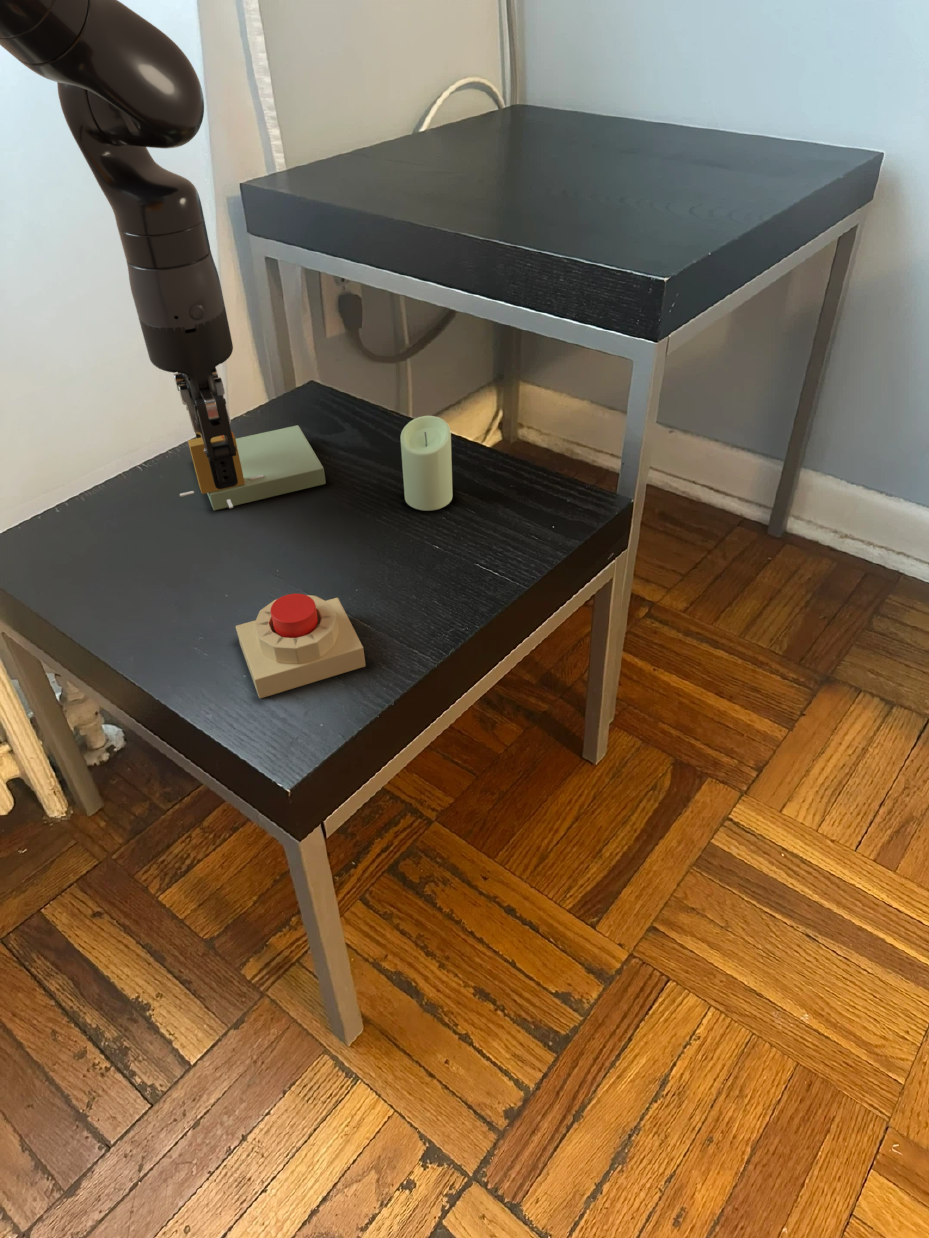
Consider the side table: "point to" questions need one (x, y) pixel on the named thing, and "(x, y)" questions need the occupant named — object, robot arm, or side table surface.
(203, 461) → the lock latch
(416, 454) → the candle
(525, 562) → the side table surface
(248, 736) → the side table surface
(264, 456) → the plate
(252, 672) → the button box
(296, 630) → the button
